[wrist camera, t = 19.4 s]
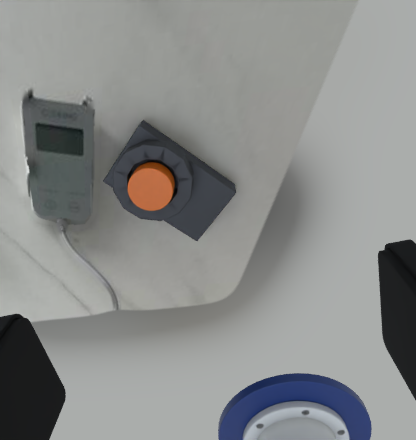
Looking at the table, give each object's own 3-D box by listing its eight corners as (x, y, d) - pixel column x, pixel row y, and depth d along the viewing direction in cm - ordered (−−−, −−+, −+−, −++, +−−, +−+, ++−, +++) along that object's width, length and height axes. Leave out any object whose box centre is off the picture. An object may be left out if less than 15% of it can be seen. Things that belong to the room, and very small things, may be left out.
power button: (183, 178, 33) (181, 185, 31) (159, 210, 34) (157, 219, 32) (146, 153, 32) (142, 159, 30) (123, 187, 33) (118, 194, 31)
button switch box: (236, 182, 36) (239, 197, 33) (196, 232, 39) (194, 253, 35) (144, 117, 34) (136, 127, 30) (107, 175, 36) (95, 191, 33)
